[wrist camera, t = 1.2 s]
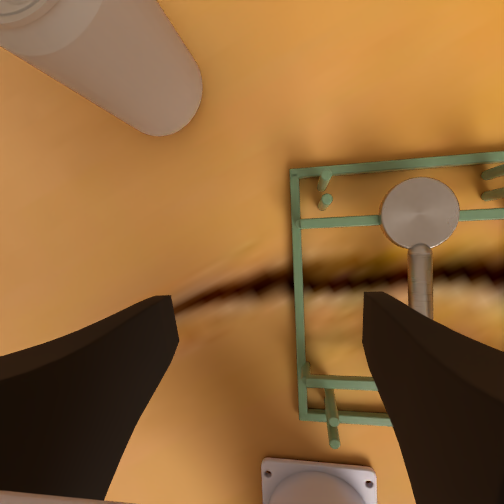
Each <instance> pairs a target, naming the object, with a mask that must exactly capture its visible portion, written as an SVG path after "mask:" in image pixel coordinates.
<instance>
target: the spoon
mask: <svg viewBox="0 0 504 504" xmlns="http://www.w3.org/2000/svg"><path fill="white" fill-rule="evenodd" d="M459 215H460V209H459V203H458V200H457V198H456V196H455V194H454V193H453V191H452V190H451V189H450V188H449V187H448V186H447V185H445V184H444V183H442V182H441V181H439V180H436V179H433V178H428V177H416V178H411V179H408V180H405V181H403V182H401V183H399V184H397V185H396V186H394V187H393V188H392V189H391V190H389V191H388V193H387V194H386V195H385V196H384V198H383V200H382V202H381V204H380V207H379V216H378V217H379V224H380V227H381V229H382V231H383V233H384V234H385V236H386V237H387V238H388V239H389V240H390V241H391V242H392V243H394V244H396V245H397V246H400V247H402V248H406V249H409V250H408V306H409V307H411V308H412V309H414V310H416V311H418V312H419V313H421V314H423V315H425V316H426V317H428V318H430V319H432V320H433V255H432V250H431V248H433V247H436V246H438V245H440V244H441V243H443V242H444V241H445V240H447V239H448V238H449V237H450V236H451V234H452V233H453V232H454V230H455V228H456V226H457V224H458V221H459Z"/></svg>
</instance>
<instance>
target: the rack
mask: <svg viewBox="0 0 504 504" xmlns="http://www.w3.org/2000/svg"><path fill="white" fill-rule="evenodd" d="M502 162H504V151H496V152H484V153H473V154H461V155H449V156H438V157H426V158H414V159H402V160H391V161H379V162H367V163H356V164H344V165H332V166H320V167H309V168H297V169H290V194H291V220H292V246H293V272H294V298H295V324H296V350H297V376H298V402H299V420H301V421H317V422H327V428H328V437H329V445H330V446H331V448H333V449H338V448H339V447H340V440H339V434H338V428H337V426H338V425H339V423H347V424H362V425H377V426H392V423H391V421H390V419H389V416H388V414H387V413H372V412H356V411H339V410H337V405H336V400H335V394H334V389H351V390H372V391H378V389H377V387H376V384H375V382H374V379H373V377H361V376H335V375H310V363H309V362H307V361H306V356H305V329H304V301H303V274H302V247H301V229H312V228H332V227H353V226H373V225H380V224H379V217H378V216H379V215H367V216H348V217H330V218H312V219H300V193H299V179H300V178H313V177H320V178H319V182H318V185H317V189H318V191H320V192H323V191H325V189H326V187H327V185H328V183H329V181H330V179H331V177H332V176H338V175H351V174H363V173H376V172H389V171H401V170H414V169H427V168H439V167H452V166H464V165H477V164H490V163H502ZM503 175H504V164H503V165H500V166H497V167H494V168H491V169H488V170H486V171H484V172H483V173H482V174H481V177H482V179H484V180H489V179H493V178H496V177H500V176H503ZM481 198H482V199H483V200H484V201H491V200H496V199H502V198H504V188H499V189H495V190H491V191H486V192H484V193H483V194H482V196H481ZM332 200H333V198H332V196H331V195H330V194H324V195H323V196H322V198H321V200H320V202H319V204H318V209H319V210H320V211H324V210H325V209H326V208H327V207H328V206H329V205H330V204H331V202H332ZM496 219H504V208H494V209H476V210H460V215H459V221H476V220H496ZM307 387H308V388H324V389H325V399H324V403H325V410H322V409H307ZM392 427H393V426H392Z"/></svg>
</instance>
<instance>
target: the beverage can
mask: <svg viewBox="0 0 504 504" xmlns="http://www.w3.org/2000/svg"><path fill="white" fill-rule="evenodd" d="M0 46H1V47H3V48H5V49H6V50H8V51H9V52H11V53H13V54H14V55H16V56H18V57H19V58H21V59H23V60H24V61H26V62H27V63H29V64H31V65H32V66H34V67H36V68H37V69H39V70H41V71H42V72H44V73H45V74H47V75H49V76H50V77H52V78H54V79H55V80H57V81H58V82H60V83H62V84H63V85H65V86H67V87H68V88H70V89H72V90H73V91H75V92H76V93H78V94H80V95H81V96H83V97H85V98H86V99H88V100H90V101H91V102H93V103H94V104H96V105H98V106H99V107H101V108H103V109H104V110H106V111H108V112H109V113H111V114H112V115H114V116H116V117H117V118H119V119H121V120H122V121H124V122H126V123H127V124H129V125H130V126H132V127H134V128H135V129H137V130H139V131H140V132H142V133H145V134H148V135H152V136H166V135H170V134H173V133H175V132H177V131H179V130H181V129H182V128H183V127H185V126H186V125H187V124H188V123H189V122H190V121H191V119H192V118H193V117H194V115H195V114H196V112H197V110H198V107H199V105H200V102H201V97H202V77H201V73H200V70H199V67H198V65H197V63H196V61H195V60H194V58H193V57H192V55H191V54H190V52H189V50H188V49H187V47H186V46H185V44H184V43H183V41H182V40H181V38H180V36H179V35H178V33H177V32H176V30H175V29H174V27H173V25H172V24H171V22H170V21H169V19H168V18H167V16H166V14H165V13H164V11H163V10H162V8H161V7H160V5H159V3H158V2H157V0H0Z"/></svg>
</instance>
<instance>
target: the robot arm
mask: <svg viewBox="0 0 504 504" xmlns="http://www.w3.org/2000/svg"><path fill="white" fill-rule="evenodd" d="M178 343H179V336H178V331H177V326H176V320H175V315H174V310H173V304H172V299H171V295H165V296H153V297H150V298H148V299H145V300H143V301H141V302H139V303H136V304H134V305H132V306H130V307H128V308H126V309H124V310H122V311H120V312H118V313H115V314H113V315H111V316H109V317H107V318H105V319H103V320H100V321H98V322H96V323H94V324H92V325H89V326H87V327H85V328H83V329H80V330H78V331H76V332H73V333H71V334H68V335H65V336H63V337H60V338H57V339H55V340H52V341H49V342H46V343H43V344H40V345H37V346H34V347H31V348H27V349H24V350H21V351H18V352H14V353H11V354H8V355H4V356H1V357H0V504H134V503H123V502H113V501H104V499H105V496H106V494H107V491H108V488H109V486H110V484H111V481H112V479H113V476H114V474H115V472H116V469H117V467H118V464H119V462H120V459H121V457H122V455H123V453H124V450H125V448H126V446H127V444H128V441H129V439H130V437H131V435H132V432H133V430H134V428H135V426H136V424H137V422H138V420H139V418H140V416H141V415H142V413H143V411H144V409H145V408H146V406H147V404H148V402H149V401H150V399H151V397H152V395H153V394H154V392H155V390H156V388H157V387H158V385H159V383H160V381H161V380H162V378H163V376H164V374H165V372H166V371H167V369H168V367H169V365H170V363H171V361H172V358H173V356H174V354H175V351H176V348H177V346H178ZM362 343H363V347H364V351H365V355H366V359H367V362H368V366H369V369H370V372H371V374H372V377H373V379H374V382H375V384H376V387H377V389H378V392H379V394H380V396H381V399H382V401H383V404H384V406H385V409H386V411H387V414H388V416H389V419H390V421H391V423H392V426H393V428H394V431H395V434H396V437H397V440H398V442H399V446H400V449H401V452H402V456H403V459H404V462H405V466H406V469H407V472H408V476H409V479H410V483H411V486H412V490H413V494H414V497H415V501H416V504H504V352H502V351H500V350H497V349H495V348H492V347H490V346H487V345H485V344H483V343H480V342H478V341H475V340H473V339H471V338H468V337H466V336H464V335H462V334H460V333H457V332H455V331H453V330H451V329H449V328H447V327H445V326H443V325H441V324H439V323H438V322H436V321H434V320H432V319H430V318H428V317H426V316H425V315H423V314H421V313H419V312H418V311H416V310H414V309H412V308H411V307H409V306H407V305H406V304H404V303H402V302H401V301H399V300H397V299H396V298H394V297H392V296H390V295H389V294H387V293H384V292H364V308H363V336H362ZM266 471H270V472H271V473H267V472H266ZM261 475H262V497H263V504H377V477H376V474H375V471H374V469H372V468H371V467H368V466H357V465H346V464H335V463H324V462H313V461H302V460H291V459H280V458H269V457H267V458H264V459H263V460H262V464H261ZM366 481H371V483H366Z"/></svg>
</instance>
